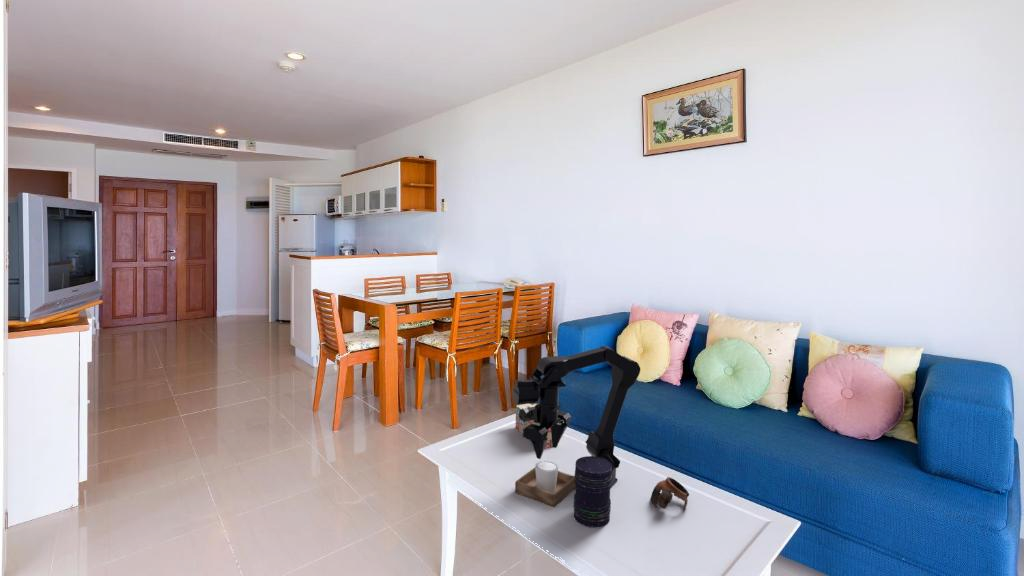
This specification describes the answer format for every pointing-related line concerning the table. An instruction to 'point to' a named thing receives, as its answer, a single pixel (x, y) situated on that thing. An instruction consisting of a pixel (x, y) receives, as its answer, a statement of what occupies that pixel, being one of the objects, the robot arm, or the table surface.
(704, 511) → the table surface
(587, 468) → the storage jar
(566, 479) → the walnut crate
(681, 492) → the brown hollow curved piece
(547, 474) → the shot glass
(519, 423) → the stack of blocks
